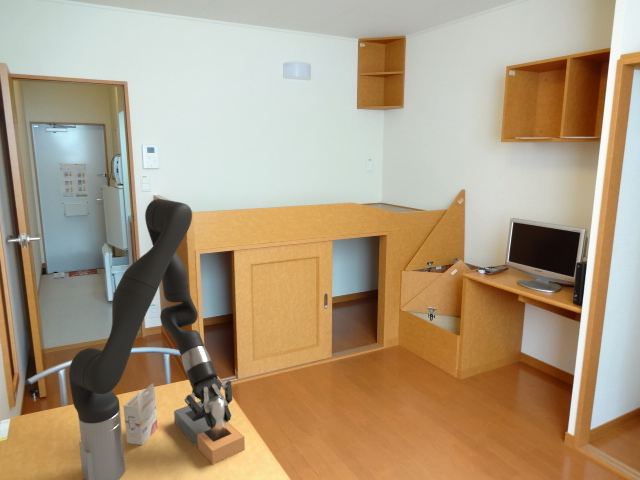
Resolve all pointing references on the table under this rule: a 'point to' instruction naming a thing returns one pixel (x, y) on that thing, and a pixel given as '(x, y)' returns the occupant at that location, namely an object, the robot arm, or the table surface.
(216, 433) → the silver metal cylinder
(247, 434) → the table surface
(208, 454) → the socket block
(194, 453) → the table surface
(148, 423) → the ink cartridge box
